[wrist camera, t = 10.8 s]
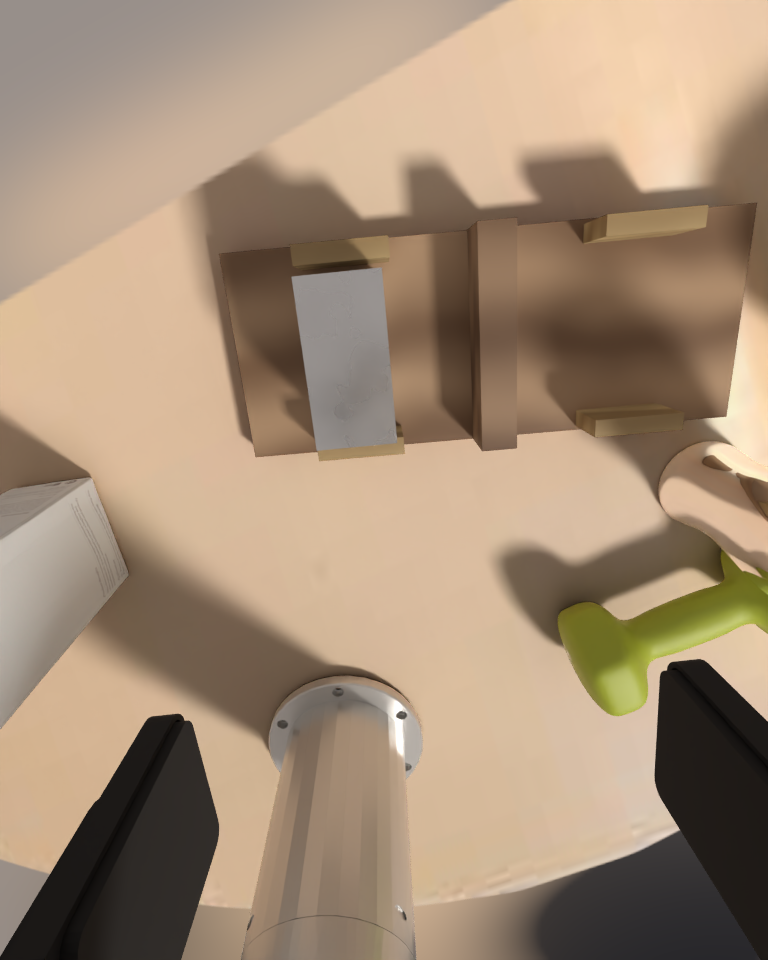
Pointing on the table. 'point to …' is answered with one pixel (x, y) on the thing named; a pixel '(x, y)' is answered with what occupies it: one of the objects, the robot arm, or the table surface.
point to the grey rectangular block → (346, 357)
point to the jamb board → (557, 328)
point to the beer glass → (722, 502)
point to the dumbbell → (653, 636)
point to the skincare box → (50, 578)
